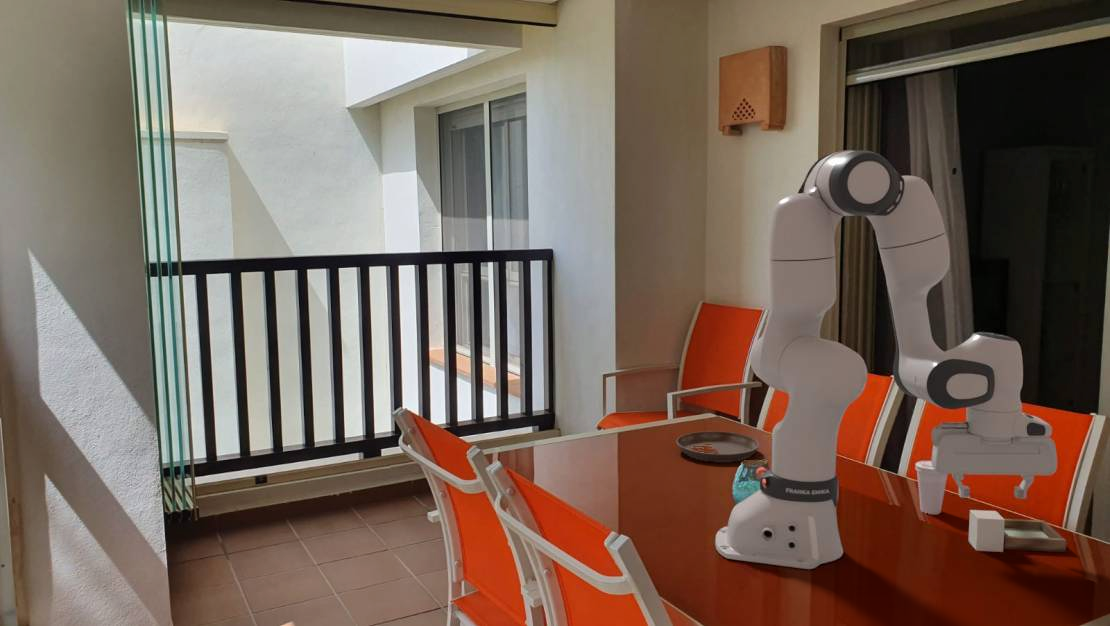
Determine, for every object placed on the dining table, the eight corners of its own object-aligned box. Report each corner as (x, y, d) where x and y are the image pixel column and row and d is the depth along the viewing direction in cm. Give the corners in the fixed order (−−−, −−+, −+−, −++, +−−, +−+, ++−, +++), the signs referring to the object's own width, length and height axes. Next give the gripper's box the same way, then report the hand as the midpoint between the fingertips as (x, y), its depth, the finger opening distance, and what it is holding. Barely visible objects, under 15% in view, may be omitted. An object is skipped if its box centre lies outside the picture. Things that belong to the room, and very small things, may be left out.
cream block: (976, 550, 153) (977, 518, 152) (968, 541, 158) (969, 509, 157) (1003, 552, 152) (1004, 519, 152) (994, 542, 157) (996, 511, 156)
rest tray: (1005, 549, 153) (1005, 537, 153) (987, 529, 163) (987, 518, 163) (1065, 552, 152) (1066, 540, 152) (1043, 531, 162) (1044, 520, 161)
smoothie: (951, 517, 170) (954, 449, 168) (917, 515, 171) (919, 447, 169) (943, 506, 176) (946, 440, 174) (910, 505, 177) (912, 439, 176)
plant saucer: (767, 465, 207) (767, 452, 207) (682, 466, 208) (682, 452, 207) (749, 443, 228) (749, 430, 228) (671, 443, 228) (671, 431, 228)
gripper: (936, 426, 151) (935, 502, 153) (1062, 427, 147) (1059, 504, 149) (927, 417, 157) (926, 490, 159) (1047, 418, 154) (1045, 492, 155)
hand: (992, 497), depth 154 cm, fingers open, 8 cm apart
